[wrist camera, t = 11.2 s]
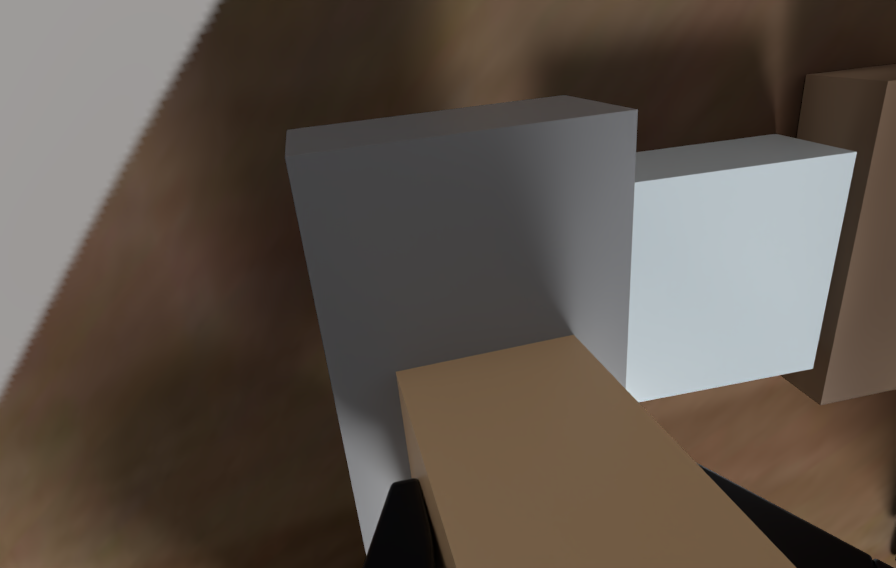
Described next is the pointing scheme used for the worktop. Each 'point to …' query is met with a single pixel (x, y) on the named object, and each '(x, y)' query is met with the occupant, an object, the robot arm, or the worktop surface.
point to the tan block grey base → (500, 338)
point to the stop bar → (857, 235)
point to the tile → (731, 260)
